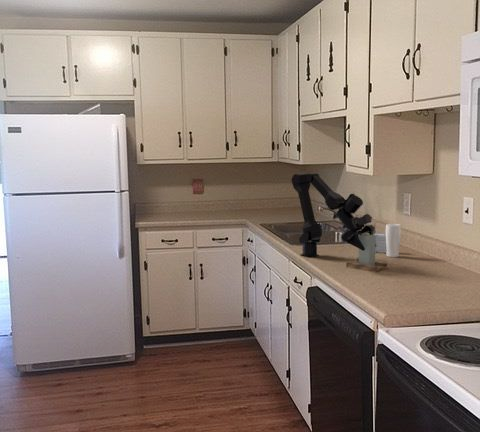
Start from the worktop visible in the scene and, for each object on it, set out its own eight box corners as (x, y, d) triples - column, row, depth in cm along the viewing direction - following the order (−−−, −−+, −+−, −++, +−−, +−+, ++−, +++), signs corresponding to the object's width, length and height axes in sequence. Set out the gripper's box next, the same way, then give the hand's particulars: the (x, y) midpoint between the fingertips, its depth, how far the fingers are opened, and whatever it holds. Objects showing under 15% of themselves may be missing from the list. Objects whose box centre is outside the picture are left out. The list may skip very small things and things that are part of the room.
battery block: (358, 265, 232) (359, 233, 230) (364, 263, 235) (365, 232, 234) (368, 267, 228) (369, 234, 227) (374, 265, 232) (375, 233, 230)
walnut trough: (346, 266, 233) (346, 262, 233) (358, 263, 240) (358, 258, 240) (375, 272, 224) (375, 267, 223) (387, 267, 231) (387, 263, 230)
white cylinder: (388, 254, 259) (389, 223, 257) (402, 256, 255) (403, 224, 253) (382, 256, 254) (383, 224, 252) (396, 258, 250) (397, 226, 248)
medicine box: (390, 252, 265) (391, 234, 264) (388, 253, 261) (389, 235, 260) (374, 250, 269) (374, 233, 267) (372, 252, 265) (372, 234, 263)
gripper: (347, 210, 225) (370, 239, 219) (371, 206, 238) (393, 234, 232) (331, 227, 231) (353, 256, 225) (355, 222, 244) (376, 249, 238)
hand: (370, 248), depth 230 cm, fingers open, 9 cm apart
